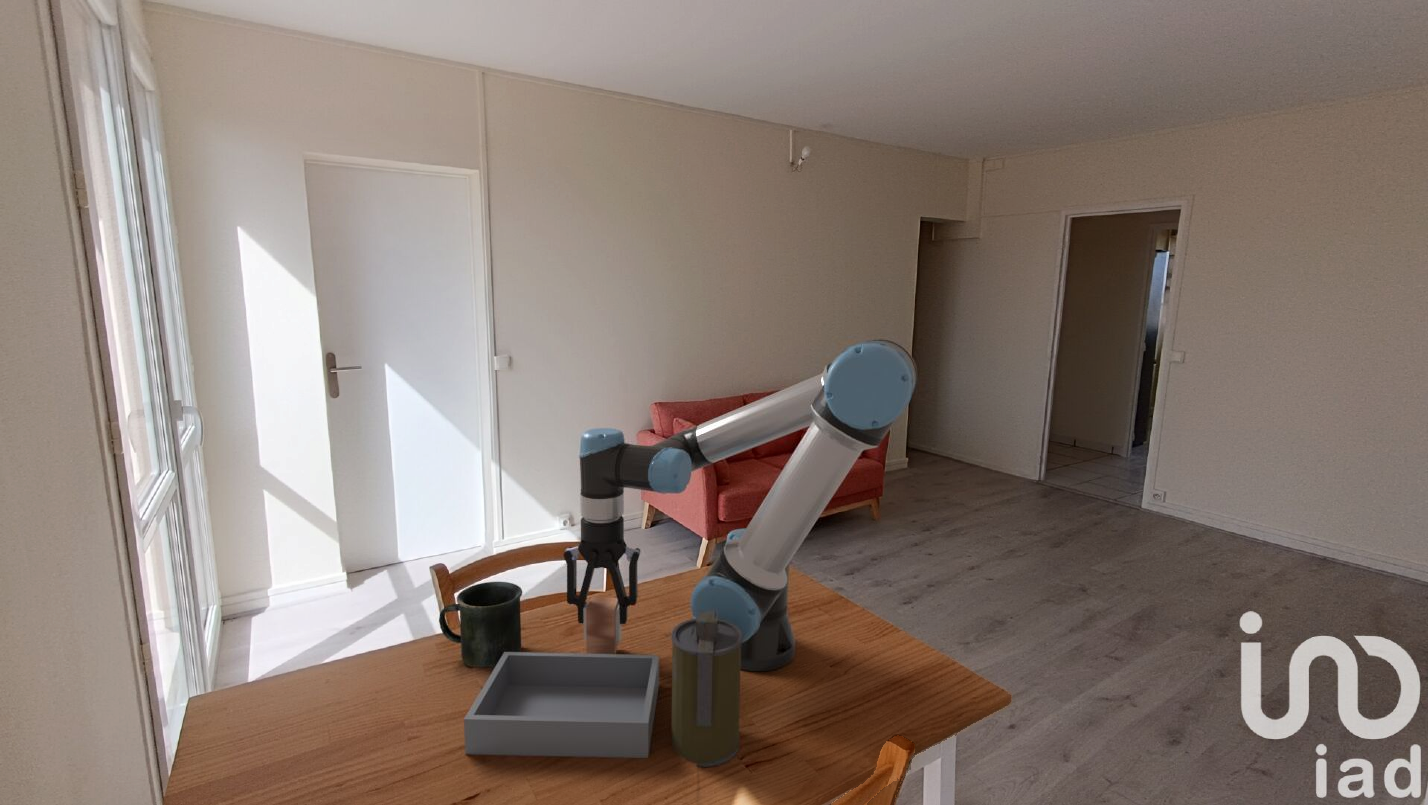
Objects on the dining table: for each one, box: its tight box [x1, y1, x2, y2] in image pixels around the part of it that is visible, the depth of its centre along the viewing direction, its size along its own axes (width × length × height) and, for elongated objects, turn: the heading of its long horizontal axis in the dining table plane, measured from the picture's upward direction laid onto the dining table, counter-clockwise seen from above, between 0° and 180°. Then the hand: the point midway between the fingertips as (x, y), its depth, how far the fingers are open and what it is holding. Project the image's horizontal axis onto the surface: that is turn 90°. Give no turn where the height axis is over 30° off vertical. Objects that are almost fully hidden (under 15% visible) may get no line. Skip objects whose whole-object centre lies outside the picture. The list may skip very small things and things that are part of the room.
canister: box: [670, 610, 743, 768], centre depth 96 cm, size 11×10×20 cm
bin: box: [463, 651, 660, 759], centre depth 102 cm, size 26×18×6 cm
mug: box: [438, 581, 523, 668], centre depth 120 cm, size 11×15×12 cm
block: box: [585, 596, 620, 654], centre depth 120 cm, size 5×5×9 cm
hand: (602, 639), depth 120 cm, fingers closed on block, 5 cm apart
